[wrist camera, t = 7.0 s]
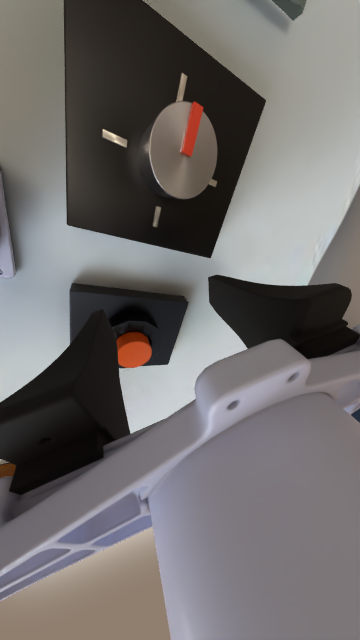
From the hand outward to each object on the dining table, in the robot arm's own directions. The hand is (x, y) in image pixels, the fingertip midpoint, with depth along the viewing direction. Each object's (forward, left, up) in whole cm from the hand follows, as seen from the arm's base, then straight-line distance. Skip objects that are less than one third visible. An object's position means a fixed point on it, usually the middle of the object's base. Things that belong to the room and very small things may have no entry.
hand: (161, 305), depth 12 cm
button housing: (0, -8, -8) cm, 12 cm away
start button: (0, -8, -5) cm, 10 cm away
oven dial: (0, +8, -5) cm, 10 cm away
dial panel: (0, +8, -8) cm, 12 cm away
